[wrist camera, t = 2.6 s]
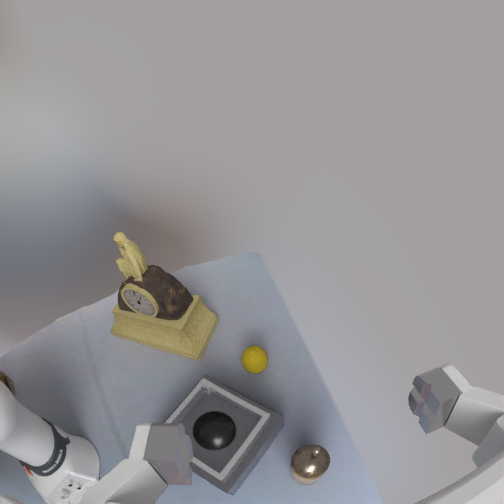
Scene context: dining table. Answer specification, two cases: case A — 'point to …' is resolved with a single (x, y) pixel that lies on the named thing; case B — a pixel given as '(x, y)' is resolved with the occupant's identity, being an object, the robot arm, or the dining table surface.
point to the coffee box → (7, 382)
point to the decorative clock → (159, 307)
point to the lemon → (254, 359)
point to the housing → (225, 432)
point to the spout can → (309, 464)
